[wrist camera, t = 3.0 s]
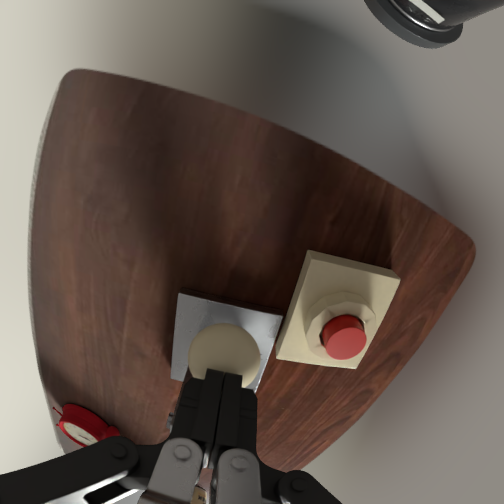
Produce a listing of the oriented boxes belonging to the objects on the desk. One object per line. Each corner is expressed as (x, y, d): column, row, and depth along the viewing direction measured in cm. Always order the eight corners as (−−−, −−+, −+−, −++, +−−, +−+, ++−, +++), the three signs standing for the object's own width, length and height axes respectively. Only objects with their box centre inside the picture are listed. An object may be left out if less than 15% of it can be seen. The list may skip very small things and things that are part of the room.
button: (330, 311, 23) (335, 324, 21) (366, 317, 23) (373, 330, 21) (316, 343, 24) (319, 357, 22) (351, 348, 24) (356, 362, 23)
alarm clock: (48, 404, 32) (119, 461, 30) (69, 385, 38) (138, 436, 36) (54, 429, 35) (116, 477, 34) (72, 412, 41) (132, 456, 40)
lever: (198, 301, 13) (180, 360, 10) (270, 316, 13) (266, 378, 10) (188, 412, 21) (180, 446, 18) (227, 420, 21) (222, 455, 18)
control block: (307, 249, 25) (315, 267, 21) (392, 269, 25) (409, 288, 22) (275, 345, 29) (276, 371, 25) (351, 356, 29) (360, 380, 26)
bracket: (181, 287, 27) (132, 382, 15) (282, 309, 27) (293, 415, 15) (172, 371, 31) (142, 459, 19) (254, 389, 31) (250, 481, 19)
